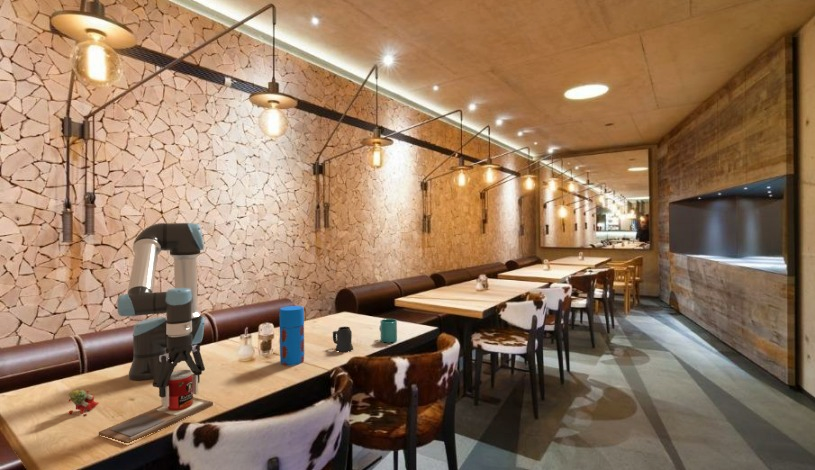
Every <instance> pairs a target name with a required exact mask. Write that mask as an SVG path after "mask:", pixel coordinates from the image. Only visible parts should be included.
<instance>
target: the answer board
mask: <svg viewBox="0 0 815 470" xmlns="http://www.w3.org/2000/svg"><path fill="white" fill-rule="evenodd" d="M212 406H214V401H210V400H207V399H202V398H198V397H194V396H193V404H192V405H191V406H190V407H188V408H185V409H182V410H177V411H172V410H169V409H168V407H165V406H162V404H161V405H159V406H157V407H154V408H152V409H149V410H148V411H145V412H143V413H140V414H139V415H136V416H134V417H130V418H128V419H126V420H124V421H121V422H119V423H117V424H114V425H112V426H109V427H107V428H105V429H103V430H100V431H98V436H99V435H101V436H105V437H108V438H112V439H115V440H118V441H121V442H124V443H130V442H132V441H134V440H137V439H139V438H142V437H144V436H147V435H149V434H151V433H154V432H156V431H158V430H160V431H162V430H161V429H163V428H165V429H166V427H167V428H168V426H169V427H171V426H173V425H175V424H177V423H179V422H181V421H183V420H185V419H187V418H186V417H188V416H190V417H191V415H192V416H194V415H195V414H196V415H197V414H198V413H200V412H202V411H204V410H207V409H208V408H210V407H212ZM193 414H194V415H193ZM184 418H185V419H184ZM188 418H189V417H188ZM182 419H183V420H182ZM180 420H181V421H180ZM178 421H179V422H178ZM176 422H177V423H176ZM174 423H175V424H174ZM172 424H173V425H172ZM170 425H171V426H170ZM163 430H164V429H163ZM158 432H159V431H158ZM156 433H157V432H156ZM154 434H155V433H154Z"/></svg>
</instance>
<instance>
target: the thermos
mask: <svg viewBox="0 0 815 470" xmlns="http://www.w3.org/2000/svg"><path fill="white" fill-rule="evenodd" d="M304 309H305V308H304V306H302V305H288V306H284V307H280V308H279V356H280V365H282V366H296V365H301V364H302V363H304V361H305V310H304Z"/></svg>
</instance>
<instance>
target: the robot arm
mask: <svg viewBox="0 0 815 470" xmlns="http://www.w3.org/2000/svg"><path fill="white" fill-rule="evenodd" d="M204 246H205V245H204V240H203V233H202V228H201V226H200V224H198V223H190V222H183V223H182V222H177V223H176V222H174V223H173V222H170V223H169V222H168V223H167V222H166V223H165V222H164V223H163V222H160V223H159V222H158V223H154V224H151V225H149V226H148V227H146V228H144V229H143V230H142V231H140V233H139V234H138V235H137V236H136V237H135V240H134V241H133V245H132V251H133V254H134V257H133V262H132V266H131V273H130V277H129V282H128V288H127V291H126V292H127V293H125V294H121V295H119V296H118V298H117V302H116V308H117V309H116V310H117V315H119V316H120V317H136V316H145V315H154V314H155V315H156V314H157V315H159V314H166V317H165V316H158V317H152V318H147V319H144V320H141V321H138V322H137V323H135V324H134V325H133V332H132V339H133V343H132V344H133V360H132V362H131V366H130V368H129V371H128V379H129V380H132V381H145V380H152V379H153V382H152V387H154V388H158V394H159V395H158V396H159V398H161V405H162V406H165V407H168V406H169V386H167V383H168V381H169V379H170V377H171V374H172V372H174V370H175V368H176V367H177V366H178V364H179V363H181V362H185V364H186V365H187V366H188V368H189V370H191V371H192V376H193V395H198V394H199V384H200V379H201V377H200V376H201V375H202V374H203V372H204V371H205V370H206V368H205V364H204V360H203V357H202V353H201V345H199V344H201V343H202V341H203V337H204V330H205V323H206V322H205V321H206V318H205V317H204V316H202V312H201V311H199V310H198V270H197V269H198V266H197V265H198V263H197V262H198V261H197V258H198V256H199V255H201V251H203V250H204V249H205V247H204ZM162 251H167V252H169V255H170V257H172V258H173V265H174V267H173V271H174V273H173V274H174V275H173V276H174V278H173V279H174V288H170V289H167V290H166V291H158V292H157V291H156V292H154V287H155V286H154V285H155V277H156V271H157V262H158V256H159V254H160V253H162ZM191 353H192V355H191ZM192 356H193V357H192Z"/></svg>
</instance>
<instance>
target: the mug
mask: <svg viewBox="0 0 815 470" xmlns="http://www.w3.org/2000/svg"><path fill="white" fill-rule="evenodd" d="M352 331H353V330H351V328H350V327H349V326H340V327H338V329H337V330H335V331H332V341H333V342H334V343H333V344H336V346H335V350H336V351H339V352H338V353H340V352H345V353H349V352H348V351H350V352H352V351H351V350H353V351H354V345H353V343H352V338H353V337H352V336H353V334H352ZM336 351H335V352H336Z"/></svg>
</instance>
